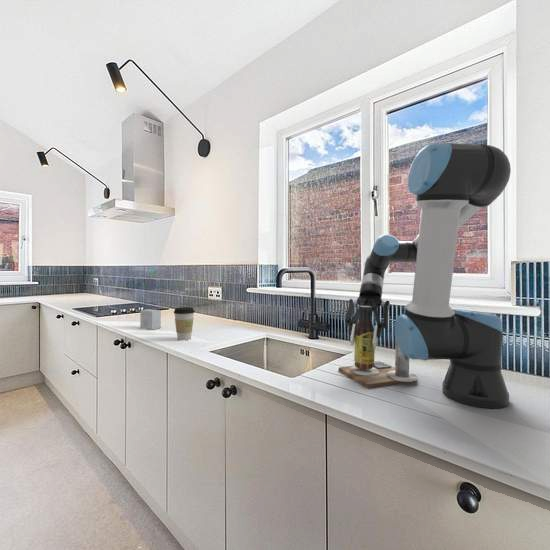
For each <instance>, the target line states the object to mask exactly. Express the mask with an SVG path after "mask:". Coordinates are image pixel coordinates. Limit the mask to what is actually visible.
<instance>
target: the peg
mask: <svg viewBox="0 0 550 550" xmlns="http://www.w3.org/2000/svg"><path fill="white" fill-rule="evenodd" d="M394 341H395V349H394V350H395V352H394V354H395V356H394V357H395V358H394V362H395V363H394V367H395V375H396V376H398V377H404V378H406V377H409V372H410V358H408V357H406V356H405V355H404V354H403V353H402V351H401V350H400V348H399V346H398V343H397V340H396V339H395V340H394Z"/></svg>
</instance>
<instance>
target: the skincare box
mask: <svg viewBox="0 0 550 550" xmlns="http://www.w3.org/2000/svg"><path fill="white" fill-rule="evenodd" d="M139 313H140V314H139V315H140V319H139V321H140V322H139V323H140V325H139V326H140V327H139V329H143V328H146V329H145V330H150V329H153V330H156V329H157V328H159V329H161V328H162V327H161V326H162V325H161V324H162V321H161V319H162V318H161V317H162V310H159V309H140V312H139Z"/></svg>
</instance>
